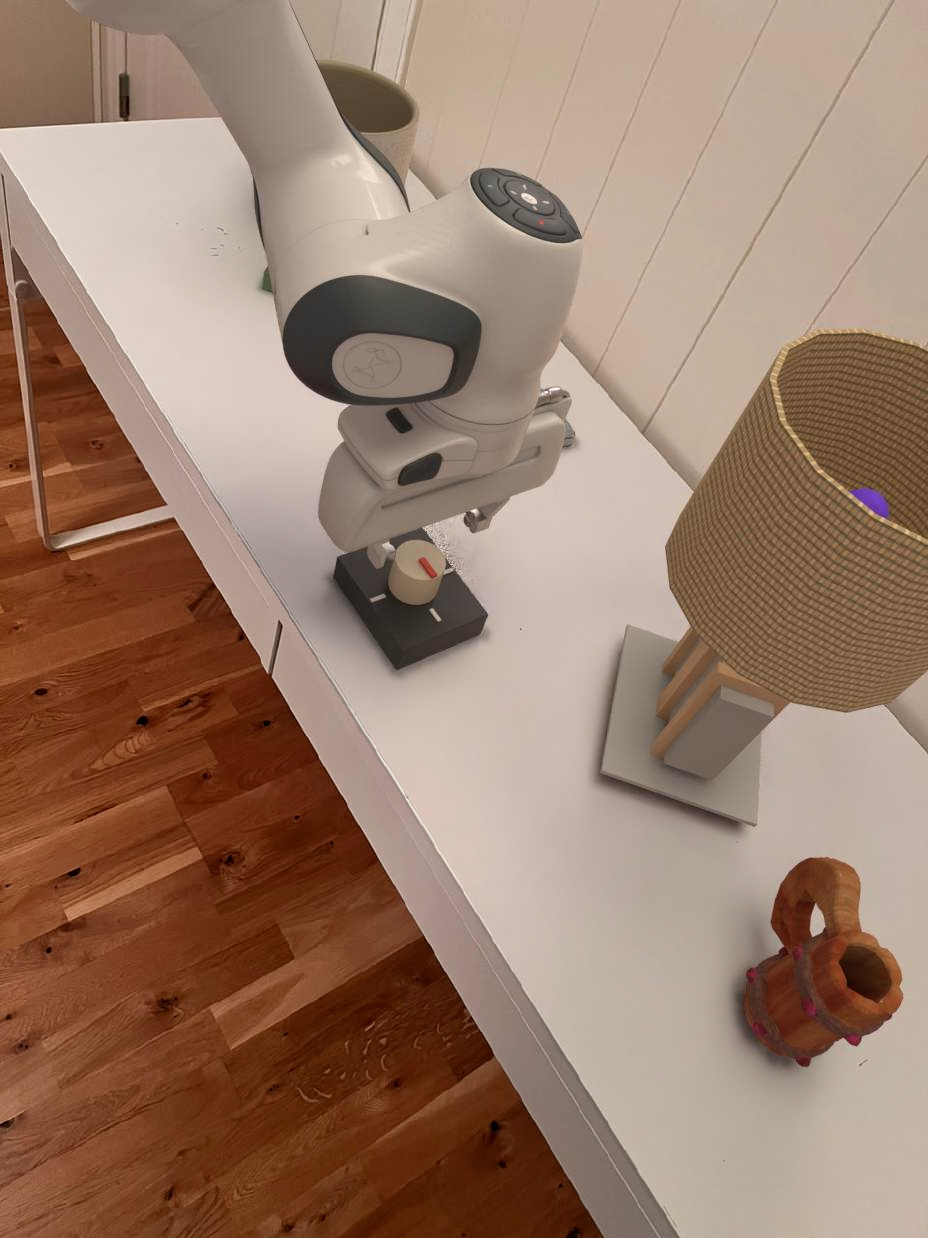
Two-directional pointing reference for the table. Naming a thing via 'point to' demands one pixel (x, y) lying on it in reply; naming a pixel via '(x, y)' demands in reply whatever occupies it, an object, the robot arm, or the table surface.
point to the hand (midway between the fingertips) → (428, 542)
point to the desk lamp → (787, 573)
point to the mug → (820, 968)
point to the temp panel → (409, 607)
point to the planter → (375, 109)
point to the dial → (416, 572)
